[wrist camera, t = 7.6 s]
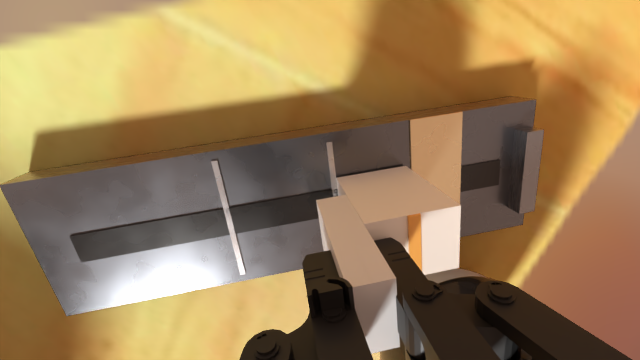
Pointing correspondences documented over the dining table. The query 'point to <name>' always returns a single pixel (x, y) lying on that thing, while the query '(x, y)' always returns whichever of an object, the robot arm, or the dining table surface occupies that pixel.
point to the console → (259, 199)
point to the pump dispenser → (453, 283)
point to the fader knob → (407, 214)
